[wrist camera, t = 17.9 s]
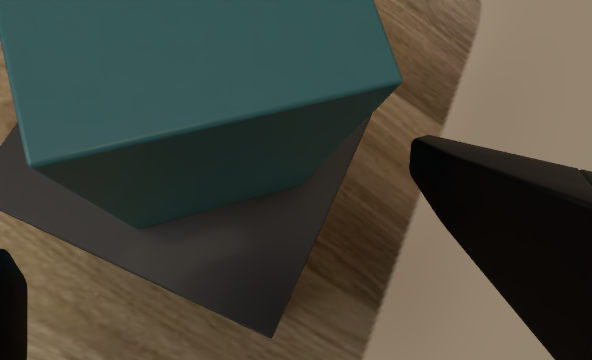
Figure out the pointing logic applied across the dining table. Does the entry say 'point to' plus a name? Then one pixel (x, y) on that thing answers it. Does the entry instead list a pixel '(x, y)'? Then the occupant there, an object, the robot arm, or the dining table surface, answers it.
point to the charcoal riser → (193, 236)
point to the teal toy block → (189, 95)
